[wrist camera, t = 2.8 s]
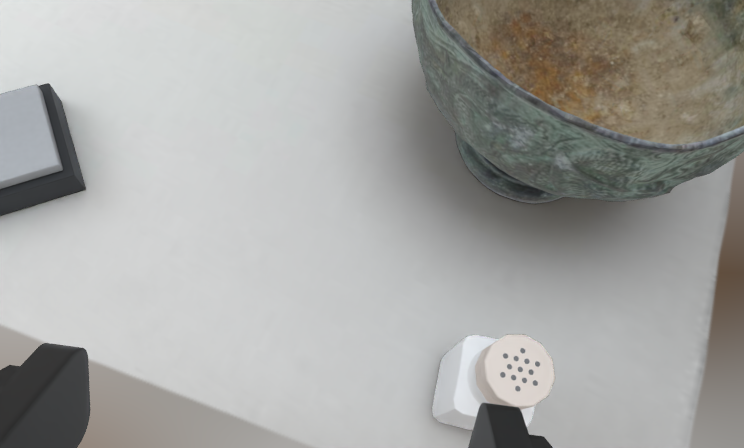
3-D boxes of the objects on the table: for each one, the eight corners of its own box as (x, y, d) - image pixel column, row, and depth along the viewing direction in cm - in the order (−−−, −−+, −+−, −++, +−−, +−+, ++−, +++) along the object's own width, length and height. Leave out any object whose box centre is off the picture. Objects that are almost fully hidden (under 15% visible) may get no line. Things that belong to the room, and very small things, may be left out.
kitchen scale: (-34, 226, 36) (-60, 207, 33) (-53, 131, 38) (-79, 107, 35) (86, 189, 37) (69, 168, 35) (61, 100, 40) (43, 74, 37)
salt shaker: (440, 352, 36) (483, 314, 27) (505, 368, 36) (568, 336, 27) (427, 420, 34) (468, 404, 25) (495, 437, 34) (559, 427, 25)
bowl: (705, 122, 44) (886, -37, 30) (575, 323, 37) (733, 237, 23) (487, -20, 47) (560, -222, 33) (331, 141, 40) (342, -30, 26)
